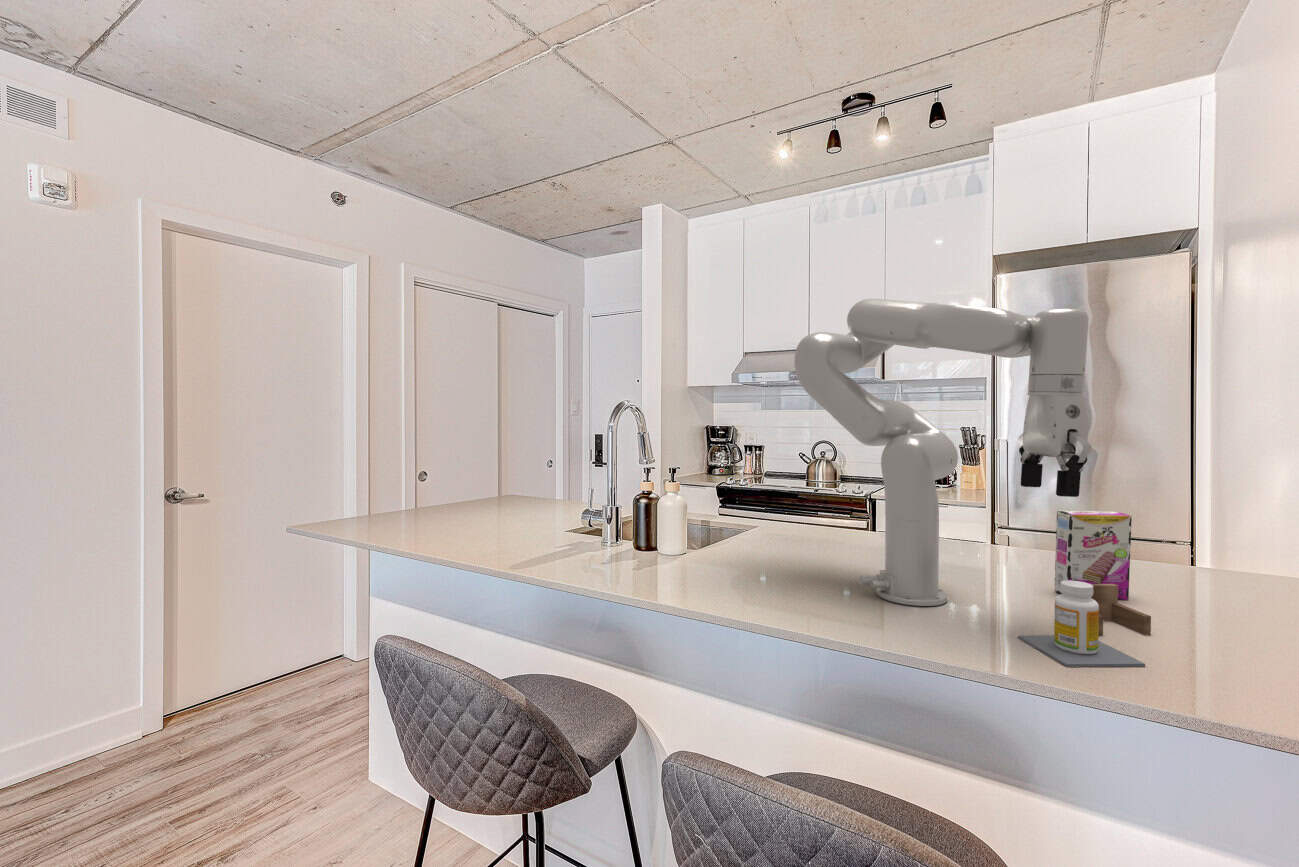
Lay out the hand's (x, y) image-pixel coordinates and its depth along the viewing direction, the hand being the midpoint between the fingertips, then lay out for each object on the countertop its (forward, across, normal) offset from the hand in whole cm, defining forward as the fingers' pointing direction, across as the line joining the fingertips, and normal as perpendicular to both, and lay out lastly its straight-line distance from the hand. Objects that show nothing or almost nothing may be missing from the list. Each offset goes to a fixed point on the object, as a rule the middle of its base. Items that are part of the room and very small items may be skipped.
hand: (1048, 491), depth 98 cm
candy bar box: (+23, +17, -20) cm, 35 cm away
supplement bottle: (+22, -11, +1) cm, 25 cm away
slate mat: (+22, -11, +1) cm, 25 cm away
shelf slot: (+22, 0, -11) cm, 25 cm away
